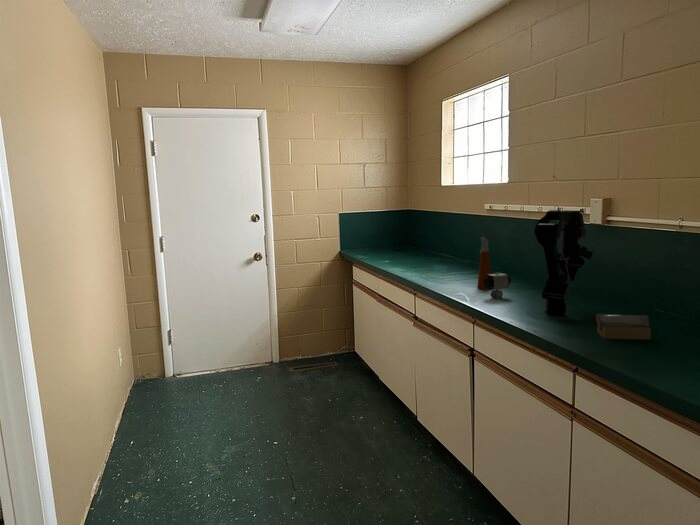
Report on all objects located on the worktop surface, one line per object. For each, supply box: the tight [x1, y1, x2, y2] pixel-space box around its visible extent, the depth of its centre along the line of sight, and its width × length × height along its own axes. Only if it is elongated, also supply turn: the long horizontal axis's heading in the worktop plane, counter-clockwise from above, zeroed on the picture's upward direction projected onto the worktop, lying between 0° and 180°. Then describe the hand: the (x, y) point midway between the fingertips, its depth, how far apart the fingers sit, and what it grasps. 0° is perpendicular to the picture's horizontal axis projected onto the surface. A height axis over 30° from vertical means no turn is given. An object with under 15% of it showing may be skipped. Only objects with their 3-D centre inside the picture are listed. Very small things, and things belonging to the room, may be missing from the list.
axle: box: [599, 314, 650, 328], centre depth 160 cm, size 14×4×4 cm, turn 81°
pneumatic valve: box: [484, 271, 512, 300], centre depth 218 cm, size 6×12×12 cm, turn 111°
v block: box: [596, 323, 652, 340], centre depth 160 cm, size 14×7×4 cm, turn 81°
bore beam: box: [595, 313, 621, 324], centre depth 172 cm, size 8×10×3 cm
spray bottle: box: [476, 236, 492, 290], centre depth 238 cm, size 7×11×26 cm, turn 146°
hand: (568, 278), depth 198 cm, fingers open, 9 cm apart
